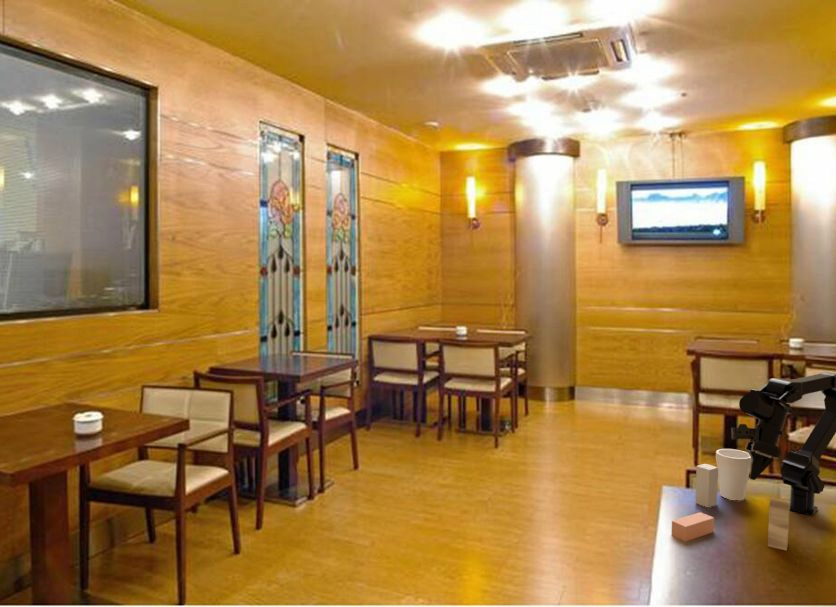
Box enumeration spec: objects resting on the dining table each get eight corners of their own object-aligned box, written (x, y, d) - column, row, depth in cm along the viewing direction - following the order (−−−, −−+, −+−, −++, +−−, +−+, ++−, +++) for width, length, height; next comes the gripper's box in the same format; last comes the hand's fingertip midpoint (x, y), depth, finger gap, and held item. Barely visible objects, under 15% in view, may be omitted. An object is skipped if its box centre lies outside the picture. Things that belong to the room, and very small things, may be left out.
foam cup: (754, 504, 179) (756, 459, 178) (719, 501, 181) (721, 457, 180) (744, 492, 188) (745, 449, 187) (711, 489, 190) (712, 447, 189)
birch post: (769, 540, 156) (771, 497, 156) (787, 544, 154) (789, 500, 153) (767, 546, 153) (769, 502, 152) (786, 550, 151) (788, 506, 150)
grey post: (704, 500, 182) (705, 463, 181) (716, 505, 178) (718, 467, 177) (695, 503, 180) (696, 465, 179) (708, 508, 176) (709, 469, 175)
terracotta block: (700, 512, 164) (671, 520, 159) (714, 517, 161) (685, 526, 155) (699, 527, 165) (671, 536, 159) (713, 532, 161) (685, 542, 156)
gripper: (735, 414, 181) (717, 466, 179) (742, 411, 164) (722, 468, 163) (777, 429, 176) (759, 482, 175) (789, 427, 159) (769, 486, 158)
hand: (752, 479), depth 168 cm, fingers closed
